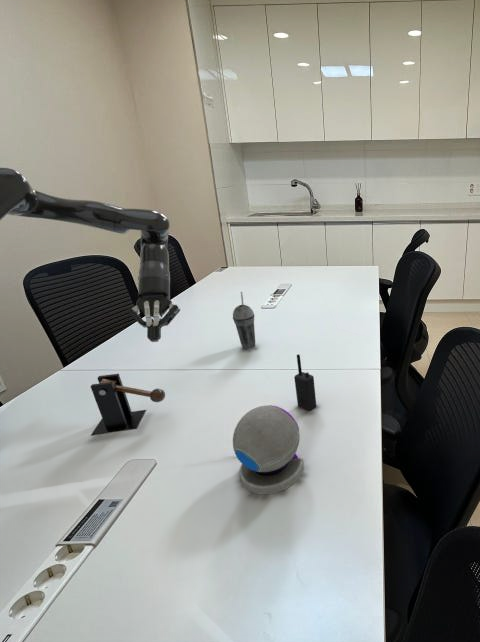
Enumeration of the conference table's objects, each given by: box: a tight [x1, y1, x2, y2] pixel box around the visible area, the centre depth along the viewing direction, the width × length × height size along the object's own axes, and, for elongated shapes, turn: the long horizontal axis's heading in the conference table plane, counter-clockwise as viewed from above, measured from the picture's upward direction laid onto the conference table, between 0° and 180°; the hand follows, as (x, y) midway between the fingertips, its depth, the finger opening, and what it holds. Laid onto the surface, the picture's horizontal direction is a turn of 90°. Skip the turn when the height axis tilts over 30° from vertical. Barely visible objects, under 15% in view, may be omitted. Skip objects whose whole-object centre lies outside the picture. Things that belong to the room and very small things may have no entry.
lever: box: [100, 379, 166, 403], centre depth 94 cm, size 14×3×3 cm, turn 104°
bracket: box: [90, 373, 147, 436], centre depth 94 cm, size 10×8×13 cm
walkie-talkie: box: [294, 354, 317, 412], centre depth 100 cm, size 5×3×15 cm
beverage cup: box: [232, 291, 256, 350], centre depth 134 cm, size 7×7×20 cm
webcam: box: [232, 404, 305, 495], centre depth 78 cm, size 13×13×15 cm
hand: (153, 341), depth 101 cm, fingers closed
